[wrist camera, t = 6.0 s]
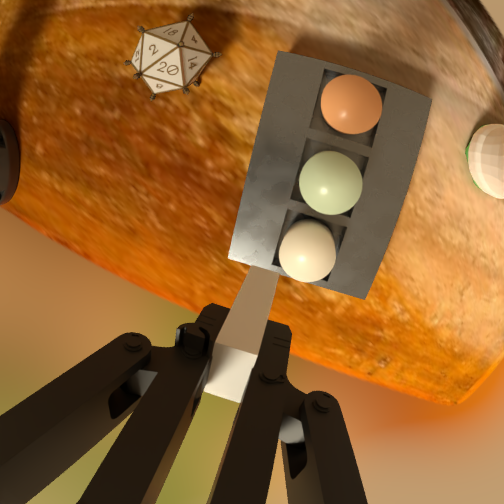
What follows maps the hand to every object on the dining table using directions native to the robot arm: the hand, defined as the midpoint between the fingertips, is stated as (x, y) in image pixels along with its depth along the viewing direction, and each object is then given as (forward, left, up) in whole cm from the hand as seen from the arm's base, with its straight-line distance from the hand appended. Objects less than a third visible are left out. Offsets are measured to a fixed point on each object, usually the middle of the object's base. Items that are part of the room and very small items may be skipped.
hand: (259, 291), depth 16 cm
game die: (-14, +13, -17) cm, 26 cm away
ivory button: (+3, -1, -13) cm, 13 cm away
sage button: (+3, +5, -12) cm, 14 cm away
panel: (+3, +5, -17) cm, 17 cm away
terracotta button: (+3, +12, -13) cm, 18 cm away
